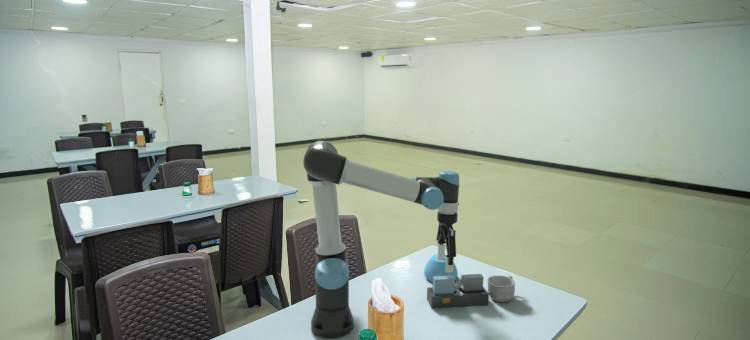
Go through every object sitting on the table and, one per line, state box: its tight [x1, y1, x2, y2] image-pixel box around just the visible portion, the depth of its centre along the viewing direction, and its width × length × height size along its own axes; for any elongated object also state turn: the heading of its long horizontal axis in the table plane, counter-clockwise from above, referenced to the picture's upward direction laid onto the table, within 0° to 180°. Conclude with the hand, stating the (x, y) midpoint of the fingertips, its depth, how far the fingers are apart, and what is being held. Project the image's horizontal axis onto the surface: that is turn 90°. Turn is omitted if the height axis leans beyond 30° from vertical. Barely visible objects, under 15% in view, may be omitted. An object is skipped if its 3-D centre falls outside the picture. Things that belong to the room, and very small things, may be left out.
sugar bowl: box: [423, 253, 459, 283], centre depth 185 cm, size 15×15×12 cm
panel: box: [432, 276, 456, 295], centre depth 162 cm, size 8×3×10 cm, turn 97°
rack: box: [426, 273, 490, 309], centre depth 163 cm, size 23×8×11 cm, turn 97°
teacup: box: [487, 275, 516, 303], centre depth 168 cm, size 14×11×8 cm
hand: (444, 265), depth 161 cm, fingers open, 11 cm apart
